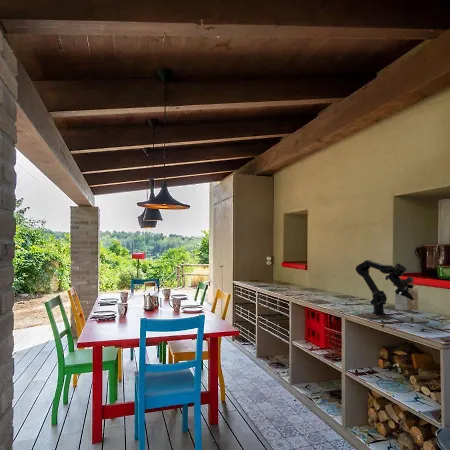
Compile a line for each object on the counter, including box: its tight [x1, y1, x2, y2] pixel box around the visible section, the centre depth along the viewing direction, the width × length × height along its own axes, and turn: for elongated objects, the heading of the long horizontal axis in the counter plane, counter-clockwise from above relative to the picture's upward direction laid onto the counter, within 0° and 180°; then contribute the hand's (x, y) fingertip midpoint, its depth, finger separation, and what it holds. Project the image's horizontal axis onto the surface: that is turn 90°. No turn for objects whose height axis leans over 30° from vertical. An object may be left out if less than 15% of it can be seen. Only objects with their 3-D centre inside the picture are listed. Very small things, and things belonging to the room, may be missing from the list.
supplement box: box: [394, 292, 410, 312], centre depth 268 cm, size 7×7×13 cm
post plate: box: [394, 313, 430, 325], centre depth 232 cm, size 14×14×4 cm
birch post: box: [407, 288, 419, 311], centre depth 234 cm, size 5×5×13 cm
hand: (414, 299), depth 233 cm, fingers closed on birch post, 5 cm apart
